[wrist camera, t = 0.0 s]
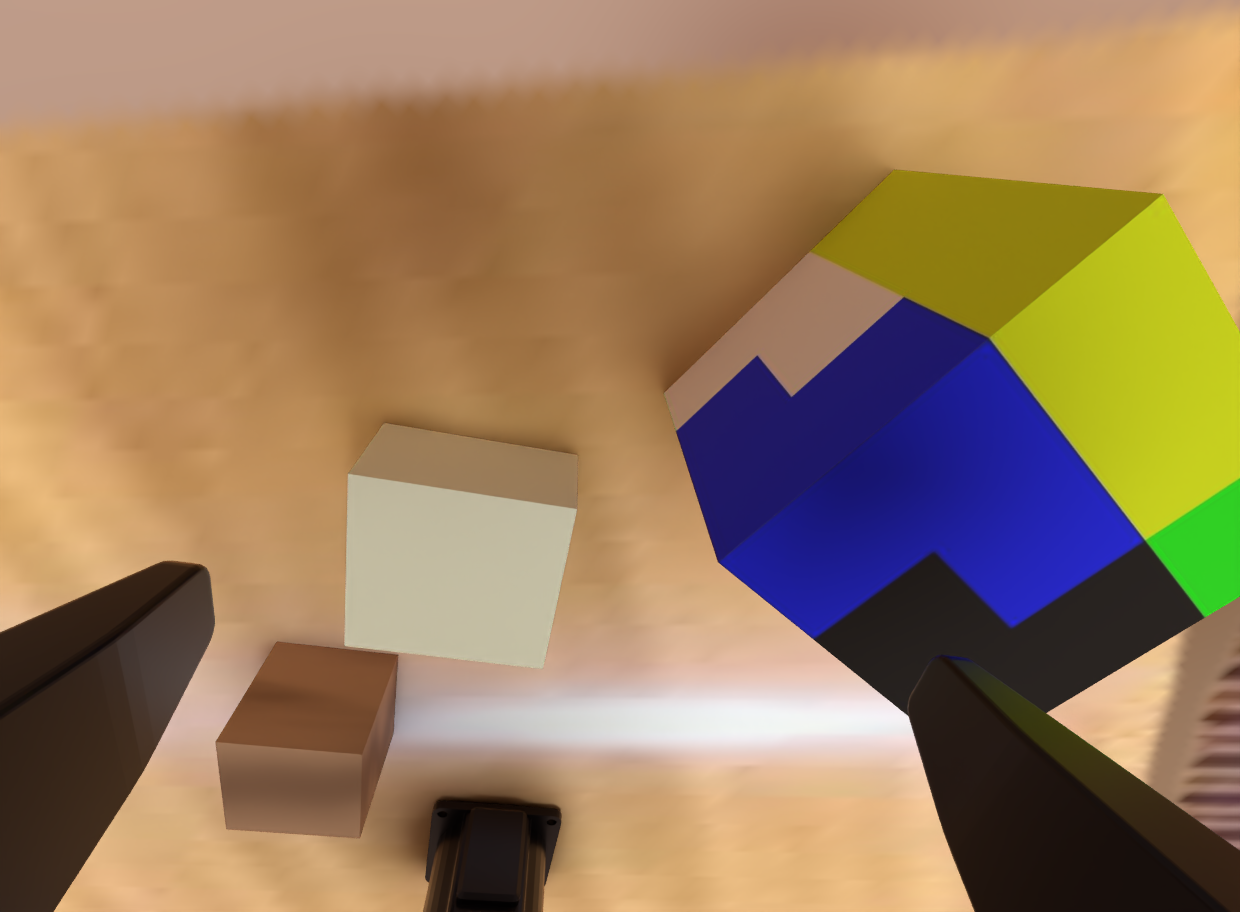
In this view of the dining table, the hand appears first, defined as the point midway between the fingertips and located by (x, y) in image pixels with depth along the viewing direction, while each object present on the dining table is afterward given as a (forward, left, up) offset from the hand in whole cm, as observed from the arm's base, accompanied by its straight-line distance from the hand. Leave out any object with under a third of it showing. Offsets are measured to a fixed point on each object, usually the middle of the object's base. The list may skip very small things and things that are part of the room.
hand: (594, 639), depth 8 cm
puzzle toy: (0, -10, -15) cm, 18 cm away
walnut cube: (-18, +8, -15) cm, 25 cm away
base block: (-8, +3, -15) cm, 17 cm away
